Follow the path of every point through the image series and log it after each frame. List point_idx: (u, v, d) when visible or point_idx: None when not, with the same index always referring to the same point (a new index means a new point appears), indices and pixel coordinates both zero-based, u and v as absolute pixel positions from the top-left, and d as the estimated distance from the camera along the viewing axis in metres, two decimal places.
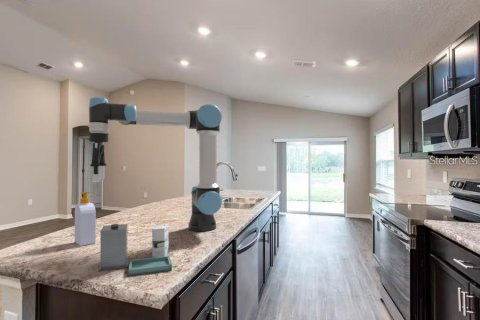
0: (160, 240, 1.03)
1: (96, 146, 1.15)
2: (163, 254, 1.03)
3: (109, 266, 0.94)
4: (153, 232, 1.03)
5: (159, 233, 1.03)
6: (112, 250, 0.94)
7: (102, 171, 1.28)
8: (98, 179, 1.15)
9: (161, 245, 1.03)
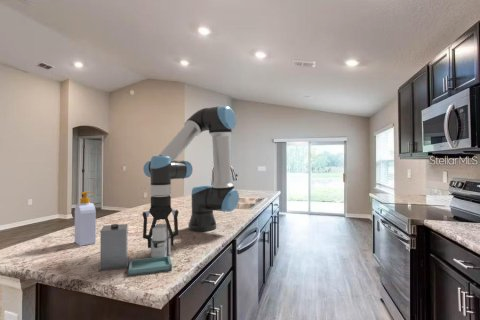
0: (160, 240, 1.03)
1: (143, 216, 1.05)
2: (163, 254, 1.03)
3: (109, 266, 0.94)
4: (153, 232, 1.03)
5: (159, 233, 1.03)
6: (112, 250, 0.94)
7: (168, 244, 1.07)
8: (151, 253, 1.05)
9: (161, 245, 1.03)
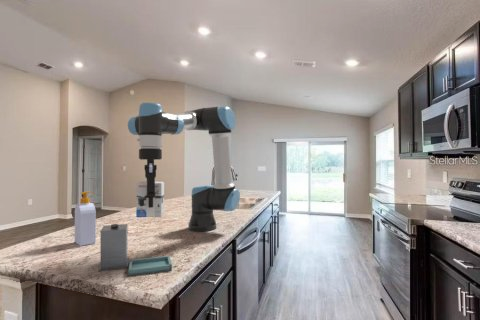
0: (163, 194, 0.96)
1: (151, 171, 0.89)
2: (163, 209, 0.97)
3: (109, 266, 0.94)
4: (161, 186, 0.94)
5: (163, 187, 0.96)
6: (112, 250, 0.94)
7: None
8: (153, 213, 0.92)
9: (163, 200, 0.97)
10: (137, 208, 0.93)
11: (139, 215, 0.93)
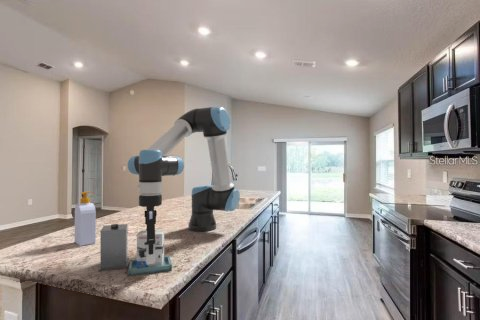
0: (163, 243, 0.96)
1: (151, 217, 0.89)
2: (163, 257, 0.97)
3: (109, 266, 0.94)
4: (162, 237, 0.94)
5: (163, 236, 0.96)
6: (112, 250, 0.94)
7: None
8: (153, 260, 0.90)
9: (163, 249, 0.97)
10: (137, 260, 0.92)
11: (139, 267, 0.92)
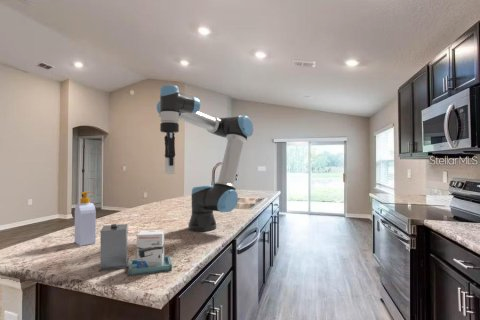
0: (163, 243, 0.96)
1: (171, 136, 1.09)
2: (163, 257, 0.97)
3: (109, 266, 0.94)
4: (162, 237, 0.94)
5: (163, 236, 0.96)
6: (112, 250, 0.94)
7: None
8: (173, 171, 1.09)
9: (163, 249, 0.97)
10: (137, 260, 0.92)
11: (139, 267, 0.92)
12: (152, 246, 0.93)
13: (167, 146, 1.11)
